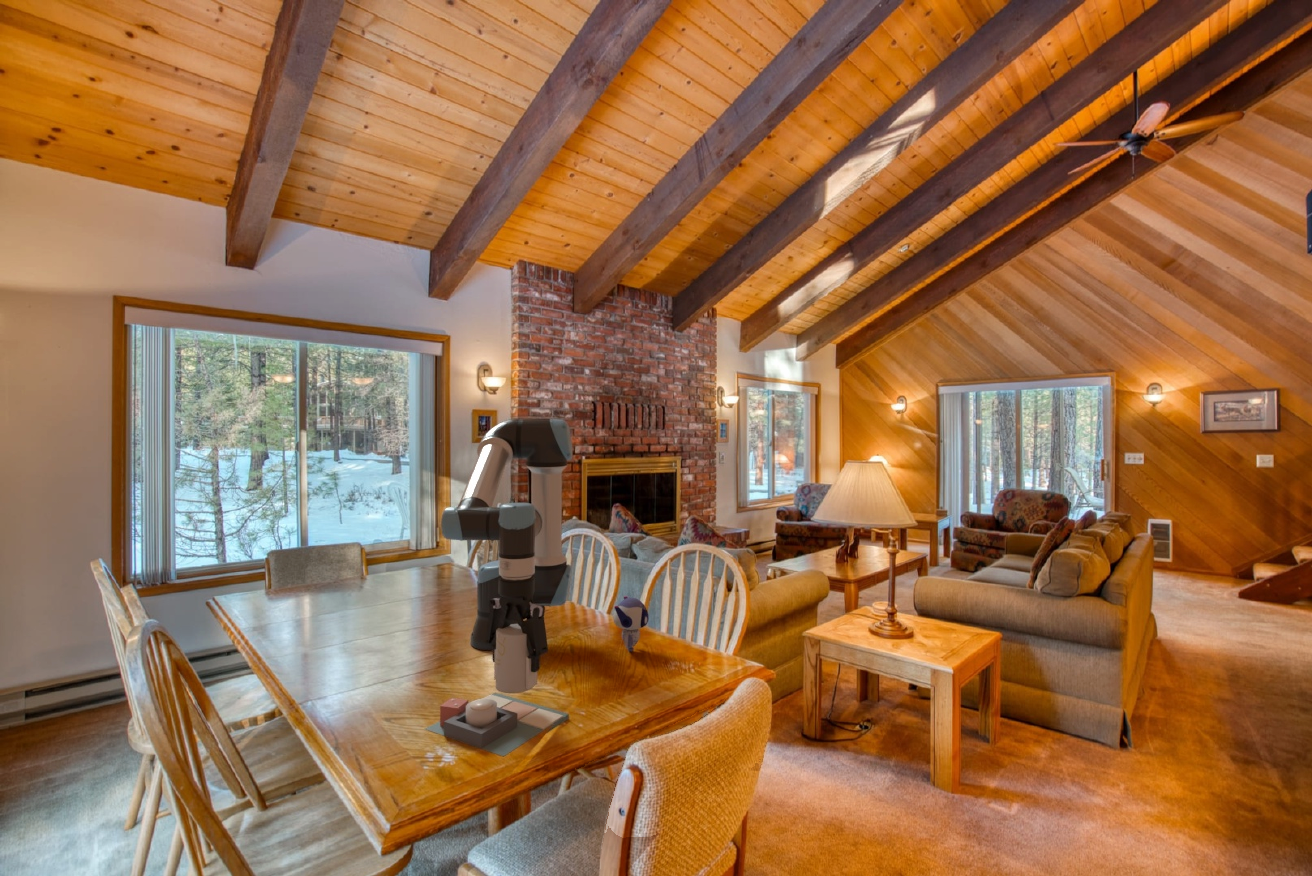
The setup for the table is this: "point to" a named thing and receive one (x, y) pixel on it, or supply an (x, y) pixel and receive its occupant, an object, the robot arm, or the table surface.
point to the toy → (630, 620)
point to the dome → (481, 712)
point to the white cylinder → (511, 659)
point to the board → (502, 725)
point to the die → (451, 709)
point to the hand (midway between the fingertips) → (515, 681)
